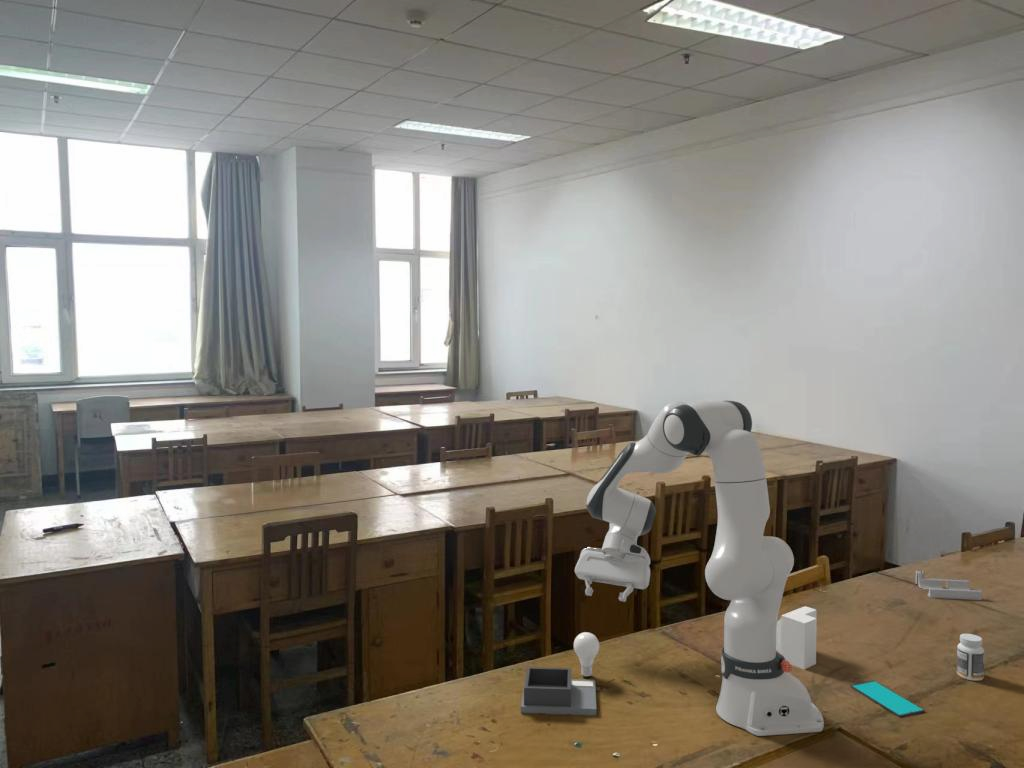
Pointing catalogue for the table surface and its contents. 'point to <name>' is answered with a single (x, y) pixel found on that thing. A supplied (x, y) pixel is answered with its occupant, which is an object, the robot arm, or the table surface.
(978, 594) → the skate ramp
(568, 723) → the table surface
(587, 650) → the lightbulb
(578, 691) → the socket board
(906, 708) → the smartphone
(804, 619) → the white notched block
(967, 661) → the pill bottle
